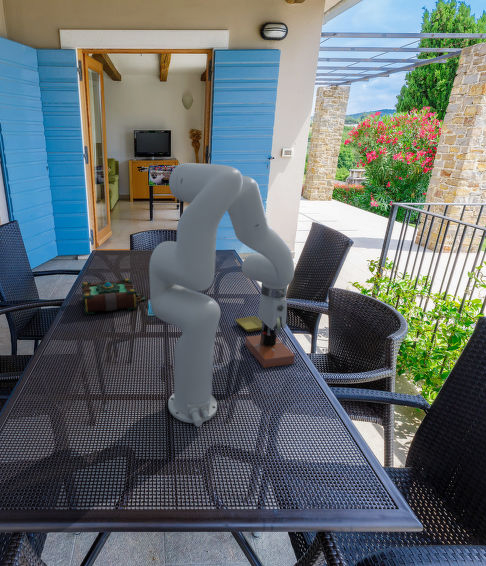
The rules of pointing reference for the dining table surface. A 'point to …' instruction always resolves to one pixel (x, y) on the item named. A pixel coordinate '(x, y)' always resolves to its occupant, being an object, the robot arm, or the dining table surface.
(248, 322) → the yellow square tray
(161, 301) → the robot arm
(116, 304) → the book
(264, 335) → the black block red end
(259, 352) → the panel
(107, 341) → the dining table surface
